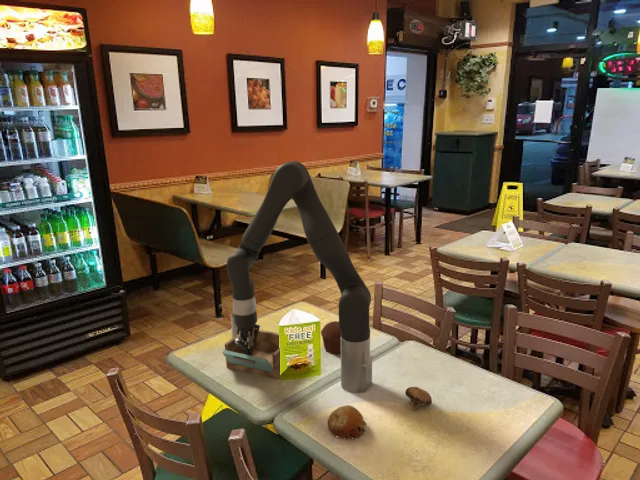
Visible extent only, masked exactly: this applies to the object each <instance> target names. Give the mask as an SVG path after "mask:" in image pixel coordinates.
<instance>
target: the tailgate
mask: <svg viewBox="0 0 640 480" xmlns="http://www.w3.org/2000/svg"><path fill="white" fill-rule="evenodd" d="M221 354H222V355H223V356H224V357H225V359H226V358H227V360H228V361H229V362H230V363H233V364H238V365H242V366H246V367H250V368H255V369H259V370H263V371H267V372H273V368H272V366H271V365H270V363H269V362H268V360H267V359H263V358H259V357H254V356H250V355H245V354H241V353H236V352H232V351H227V350H225V349H223V351H222V353H221Z"/></svg>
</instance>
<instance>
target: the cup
mask: <svg viewBox="0 0 640 480" xmlns="http://www.w3.org/2000/svg"><path fill="white" fill-rule="evenodd" d="M230 323H231V335H232V336H231V337H232V338H233V337H235V336H236V335H237V326H236V325H235V324H234V316H233V312H232V313H231V314H230ZM232 338H231V339H232Z"/></svg>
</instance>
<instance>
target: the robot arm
mask: <svg viewBox="0 0 640 480" xmlns="http://www.w3.org/2000/svg"><path fill="white" fill-rule="evenodd" d="M267 189H268V190H267V192H266V195H265V197H264V199H263V200H262V202H261V204H260V207H259V208H258V209H257V212H256V213H255V214H254V216H253V218H252V219H251V221H250V222H249V225H248V226H247V228H246V229H245V232H244V233H243V235H242V236H241V242H240V243H239V245H238V247H237V248H236V249H235V251H234V252H232V253H231V254H230V255H229V256H228V257H227V260H226V273H227V276H228V279H229V282H230V286H231V293H232V294H231V295H232V313H233V316H234V324H235V325H236V326H237V334H238V335H237V337H236V339H235V338H234V339H233V342H234V343H235V344H236V345H237V346H238V347H239V348H240V349H244V354H245V355H250V356H253V354H252V353H253V351H252V346H253V343H254V342H256V339H257V335H258V332H259V330H260V329H261V325H260V324H257V323H258V313H257V312H258V311H257V300H256V296H255V295H256V294H255V284H254V280H253V279H252V278H250V272H249V269H251V267H252V266H253V265H254V263H255V261H256V259H257V258H258V256H259V254H260V252H261V250H262V249H263V247H264V245H265V244H266V242H267V240H269V238H270V236H271V234H272V233H273V230H274V228H275V227H276V224H277V221H278V219H279V217H280V215H281V213H282V211H283V210H284V208H285V206H286V205H287V204H288V203H289V202H290V201H291V200H293V202H294V204H295V205H296V208H297V209H298V213H299V215H300V220H301V223H302V228H303V231H304V234H305V238H306V240H307V243H308V244H309V246H310V249H311V250H312V252H313V254H314V255H315V257H316V259H317V260H318V261H319V262H320V263H321V265H323V266H324V268H325V269H326V270H328V271H329V273H330V274H331V276H332V277H333V279H334V280H335V282H336V285H337V287H338V289H339V293H340V298H339V301H338V322H339V329H340V334H341V354H340V386H341V388H342V389H343V390H345V391H346V390H347V391H346V392H350V393H356V394H357V393H367V392H368V391H369V389H370V386H371V385H372V384H373V356H372V355H371V328H370V307H371V303H372V296H371V295H372V294H371V292H370V290H369V288H368V286H367V285H366V284H365V282H364V281H363V279H362V278H361V276H360V274H359V273H358V272H357V270H356V268H355V266H354V264H353V262H352V260H351V257H350V255H349V253H348V251H347V249H346V246H345V245H344V242H343V240H342V238H341V236H340V234H339V232H338V229H336V226H335V225H334V223H333V221H332V219H331V217H330V215H329V213H328V212H327V210H326V208H325V207H324V205H323V204H322V201H321V200H320V198H319V195H318V192H317V190H316V189H315V185H314V183H313V180H312V178H311V175H310V173H309V171H308V168H307V167H306V165H304V164H303V163H302V162H300V161H296V160H290V161H287V162H284V163H283V164H280V165H279V166H278V167H277V168H276V169H275V172H274V173H273V176H272V179H271V182H270V185H269V187H268V188H267Z"/></svg>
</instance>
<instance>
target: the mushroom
mask: <svg viewBox="0 0 640 480" xmlns="http://www.w3.org/2000/svg"><path fill="white" fill-rule="evenodd" d="M404 393H405V395H406V397H407V398H409V406H410V408H412V409H413V410H414V411H416V410H418V408H419V407H420V406H427V407H428V406H429V407H430V406H431V405H432V402H433V400H432V399H433V398H432V397H431V395H430V393H429V392H428V391H426V390H425V389H422V388H421V387H418V386H410V387H407V388H406V389H405V392H404Z"/></svg>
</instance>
